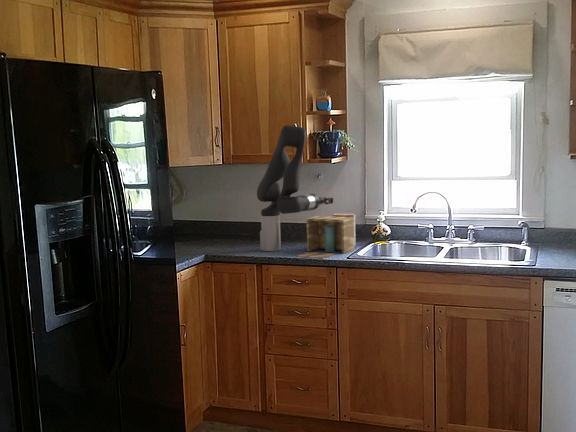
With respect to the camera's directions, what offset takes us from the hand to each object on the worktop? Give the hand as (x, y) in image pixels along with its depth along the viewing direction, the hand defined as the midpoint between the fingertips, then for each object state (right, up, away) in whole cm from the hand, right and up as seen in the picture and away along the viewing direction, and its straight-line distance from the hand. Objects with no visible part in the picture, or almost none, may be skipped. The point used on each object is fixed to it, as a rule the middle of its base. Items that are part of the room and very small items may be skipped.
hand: (324, 199), depth 334 cm
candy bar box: (+11, -23, +22) cm, 34 cm away
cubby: (+4, -24, +9) cm, 27 cm away
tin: (+3, -24, +9) cm, 26 cm away
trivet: (-4, -26, -4) cm, 27 cm away
